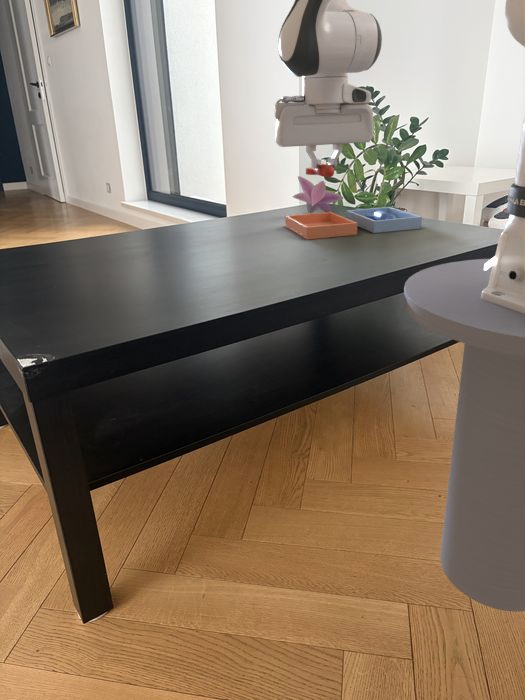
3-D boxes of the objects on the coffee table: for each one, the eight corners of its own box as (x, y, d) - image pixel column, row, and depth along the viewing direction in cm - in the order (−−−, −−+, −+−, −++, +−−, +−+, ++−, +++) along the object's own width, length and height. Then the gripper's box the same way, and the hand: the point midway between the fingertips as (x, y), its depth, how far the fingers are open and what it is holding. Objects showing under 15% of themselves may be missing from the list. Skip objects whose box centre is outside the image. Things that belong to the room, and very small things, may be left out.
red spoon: (339, 177, 112) (340, 165, 111) (321, 178, 111) (321, 166, 110) (320, 172, 122) (320, 161, 121) (303, 173, 121) (303, 162, 120)
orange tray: (357, 234, 116) (357, 222, 115) (306, 239, 113) (306, 227, 112) (330, 222, 129) (330, 211, 128) (285, 226, 127) (285, 215, 126)
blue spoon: (401, 226, 120) (402, 214, 119) (384, 227, 119) (385, 216, 118) (378, 217, 130) (378, 207, 129) (362, 219, 129) (363, 208, 128)
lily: (347, 223, 133) (351, 185, 134) (309, 209, 126) (314, 169, 127) (315, 232, 143) (319, 196, 143) (278, 219, 136) (283, 182, 137)
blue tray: (421, 228, 119) (422, 216, 118) (373, 233, 117) (374, 221, 116) (389, 217, 133) (389, 206, 132) (345, 221, 130) (346, 210, 129)
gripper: (279, 96, 103) (280, 172, 109) (378, 92, 108) (375, 166, 113) (270, 97, 109) (272, 169, 115) (365, 93, 113) (362, 164, 119)
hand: (324, 168), depth 114 cm, fingers closed on red spoon, 2 cm apart
